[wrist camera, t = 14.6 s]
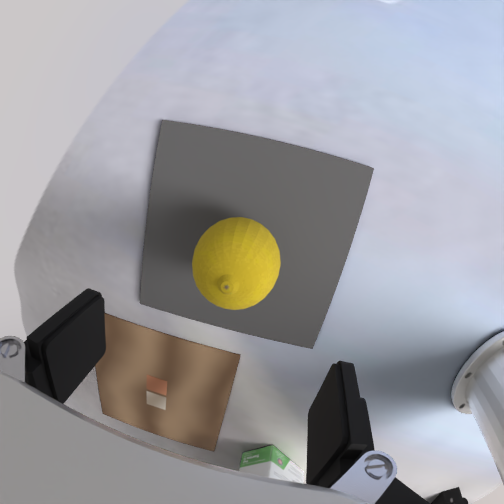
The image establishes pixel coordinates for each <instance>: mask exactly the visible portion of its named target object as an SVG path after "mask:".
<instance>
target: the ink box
mask: <svg viewBox="0 0 504 504" xmlns="http://www.w3.org/2000/svg"><path fill="white" fill-rule="evenodd" d="M239 471H240V472H245V473H249V474H254V475H259V476H264V477H269V478H274V479H280V480H285V481H291V482H298V483H303V484H304V471H303V470H302V469H301V468H299V467H298V466H297V465H296V464H295V463H293V462H292V461H291V460H290V459H289V458H287V457H286V456H285V455H284V454H283V453H281V452H280V451H279V450H278V449H277V448H276V447H275V446H274V445H271V446H267V447H264V448H260V449H256V450H252V451H248V452H244V453H242V459H241V463H240V468H239Z"/></svg>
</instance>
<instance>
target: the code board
mask: <svg viewBox="0 0 504 504" xmlns="http://www.w3.org/2000/svg"><path fill="white" fill-rule="evenodd" d="M105 336H106V351H105V354H104V355H103V357H102V358H101V359H100V360H99V361H98V363H97V364H96V365H95V367H96V375H97V382H98V388H99V395H100V401H101V406H102V412H103V414H105V415H107V416H110V417H112V418H115V419H117V420H119V421H122V422H124V423H127V424H129V425H132V426H135V427H137V428H140V429H143V430H145V431H148V432H151V433H154V434H157V435H160V436H163V437H166V438H169V439H172V440H175V441H178V442H182V443H185V444H188V445H192V446H195V447H199V448H203V449H206V450H210V451H214V449H215V446H216V442H217V439H218V435H219V432H220V428H221V425H222V421H223V417H224V414H225V410H226V407H227V403H228V399H229V396H230V392H231V388H232V385H233V381H234V377H235V374H236V370H237V366H238V363H239V359H240V354H236V353H232V352H228V351H224V350H220V349H217V348H213V347H209V346H206V345H202V344H198V343H195V342H191V341H188V340H185V339H181V338H178V337H175V336H171V335H168V334H165V333H162V332H159V331H156V330H152V329H149V328H146V327H143V326H140V325H137V324H134V323H132V322H129V321H126V320H123V319H120V318H117V317H114V316H112V315H109V314H106V313H105Z"/></svg>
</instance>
